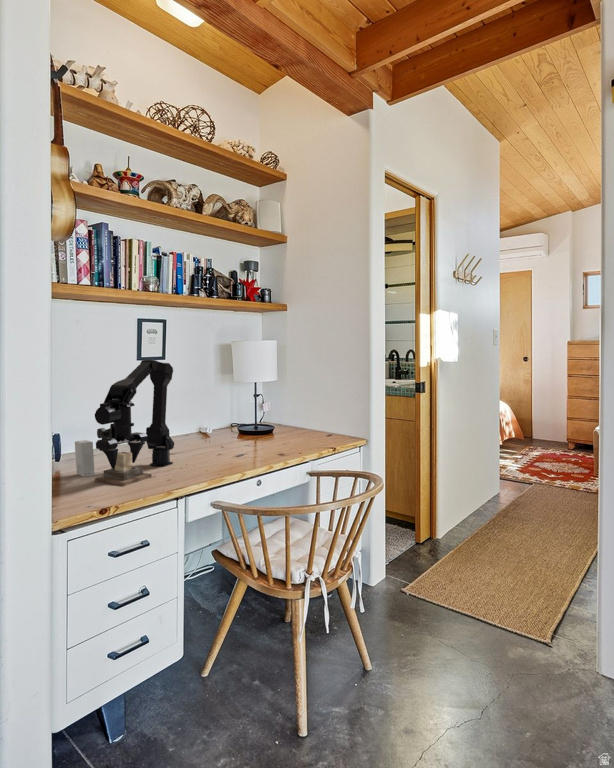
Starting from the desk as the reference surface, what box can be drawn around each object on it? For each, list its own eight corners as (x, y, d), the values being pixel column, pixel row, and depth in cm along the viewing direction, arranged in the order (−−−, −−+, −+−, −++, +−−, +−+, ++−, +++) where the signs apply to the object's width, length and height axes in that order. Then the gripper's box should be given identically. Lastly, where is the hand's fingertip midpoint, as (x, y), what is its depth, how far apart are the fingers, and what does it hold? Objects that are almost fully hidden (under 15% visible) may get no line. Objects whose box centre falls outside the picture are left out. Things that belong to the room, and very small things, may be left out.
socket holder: (123, 473, 179) (122, 463, 179) (151, 476, 174) (151, 466, 174) (94, 481, 167) (94, 471, 167) (124, 485, 162) (124, 475, 162)
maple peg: (123, 474, 173) (123, 451, 173) (132, 475, 172) (132, 452, 171) (115, 477, 170) (114, 454, 169) (123, 478, 168) (123, 455, 168)
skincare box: (95, 475, 176) (94, 441, 175) (82, 477, 173) (81, 443, 172) (87, 472, 180) (86, 439, 180) (75, 474, 177) (74, 441, 176)
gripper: (124, 416, 181) (125, 458, 182) (82, 422, 164) (84, 469, 165) (148, 417, 177) (149, 460, 178) (108, 424, 160) (109, 472, 161)
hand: (123, 465), depth 170 cm, fingers open, 9 cm apart
